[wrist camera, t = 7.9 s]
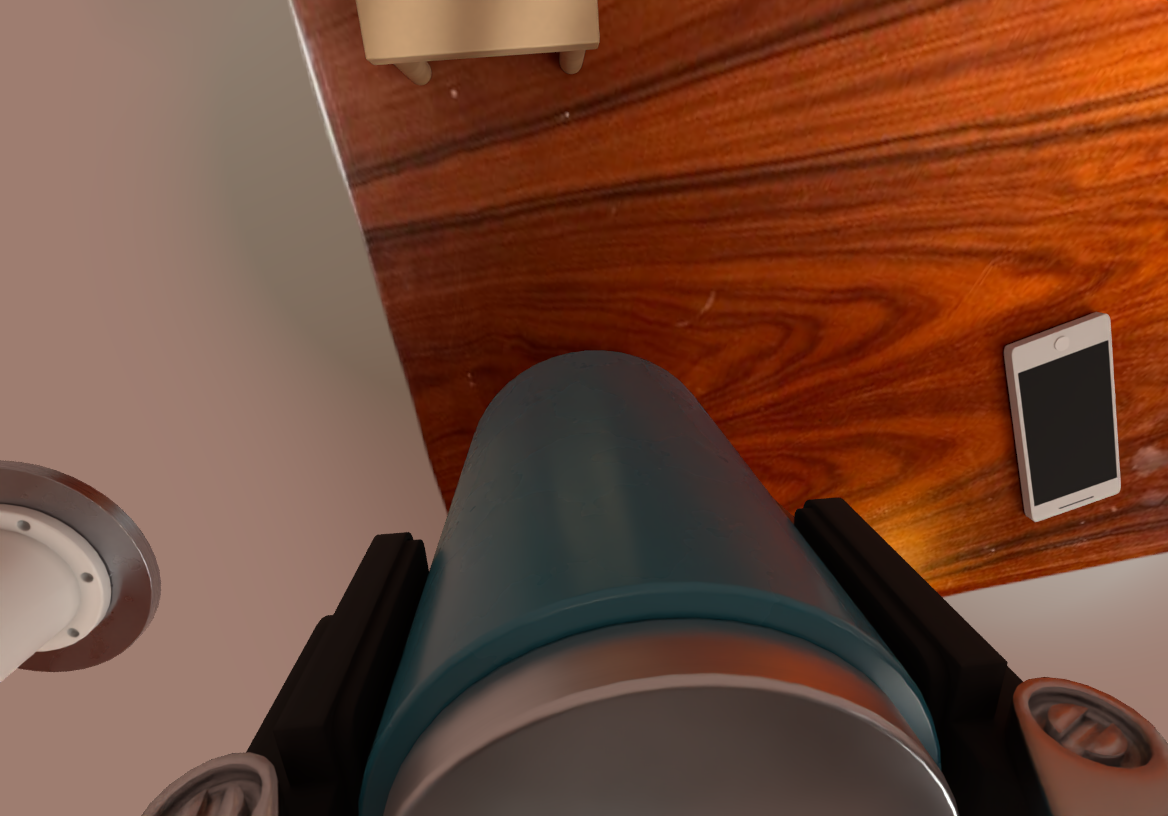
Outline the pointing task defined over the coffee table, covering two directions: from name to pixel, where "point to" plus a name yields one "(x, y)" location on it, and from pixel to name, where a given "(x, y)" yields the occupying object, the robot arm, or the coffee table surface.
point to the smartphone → (1064, 416)
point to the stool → (475, 31)
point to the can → (637, 631)
